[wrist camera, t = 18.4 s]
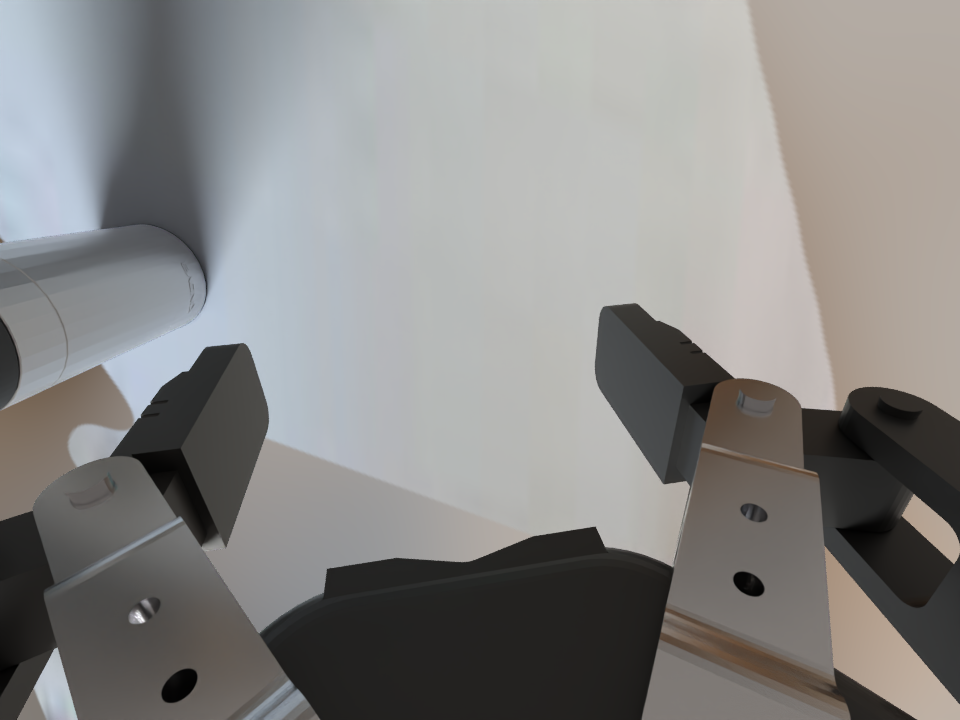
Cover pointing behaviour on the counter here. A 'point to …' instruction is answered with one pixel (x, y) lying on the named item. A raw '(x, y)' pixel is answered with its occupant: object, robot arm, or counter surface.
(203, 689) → the robot arm
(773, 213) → the counter surface
